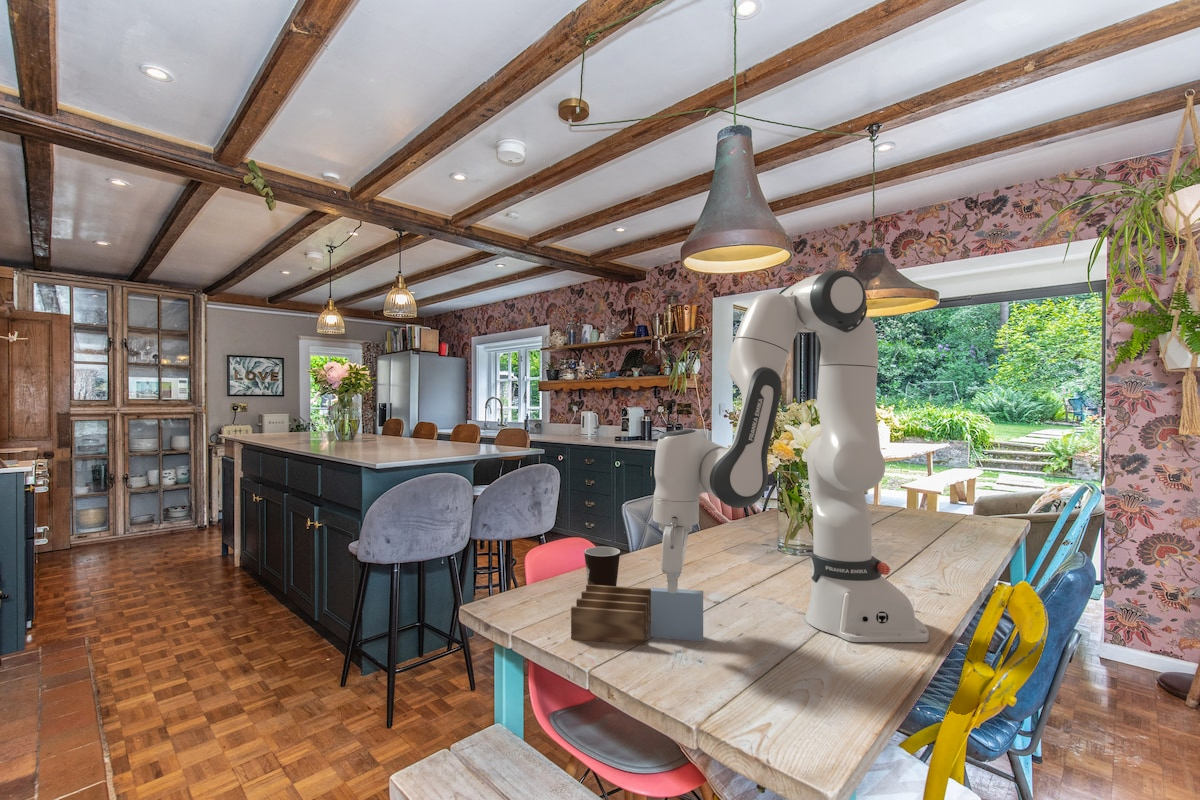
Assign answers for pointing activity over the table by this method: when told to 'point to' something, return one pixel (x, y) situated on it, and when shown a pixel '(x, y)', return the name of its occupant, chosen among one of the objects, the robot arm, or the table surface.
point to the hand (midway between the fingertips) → (674, 583)
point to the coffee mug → (602, 565)
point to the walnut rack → (612, 614)
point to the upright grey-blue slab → (677, 614)
